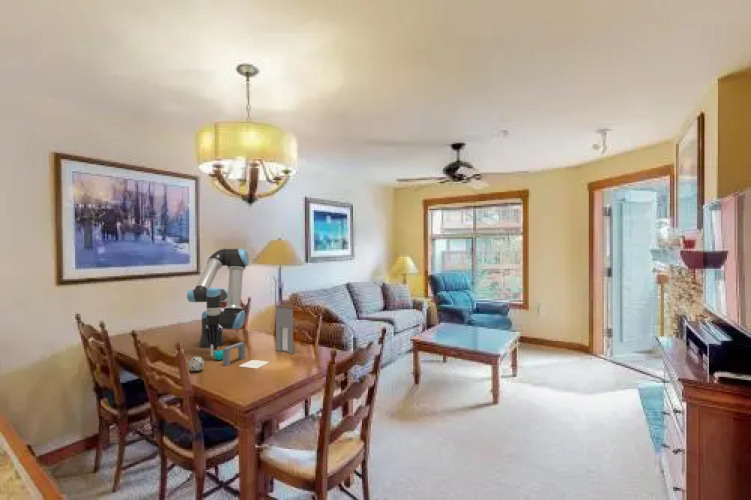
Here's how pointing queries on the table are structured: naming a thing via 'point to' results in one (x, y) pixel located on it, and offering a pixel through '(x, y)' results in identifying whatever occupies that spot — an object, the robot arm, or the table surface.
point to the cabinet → (284, 328)
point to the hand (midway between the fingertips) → (213, 355)
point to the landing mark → (254, 364)
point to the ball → (219, 355)
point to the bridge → (227, 350)
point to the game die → (196, 363)
